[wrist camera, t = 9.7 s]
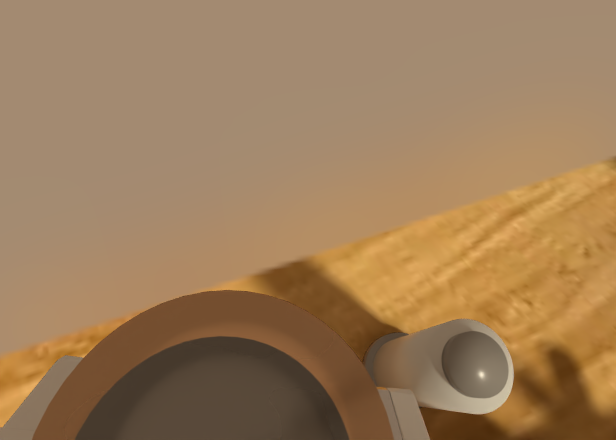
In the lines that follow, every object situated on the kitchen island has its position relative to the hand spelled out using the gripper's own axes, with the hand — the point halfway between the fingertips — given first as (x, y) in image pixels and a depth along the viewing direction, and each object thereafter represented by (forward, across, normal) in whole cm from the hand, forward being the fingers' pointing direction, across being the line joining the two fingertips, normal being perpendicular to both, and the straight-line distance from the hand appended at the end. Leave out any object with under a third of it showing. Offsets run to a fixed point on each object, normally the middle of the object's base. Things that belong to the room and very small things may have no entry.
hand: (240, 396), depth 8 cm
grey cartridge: (+14, -9, +11) cm, 20 cm away
